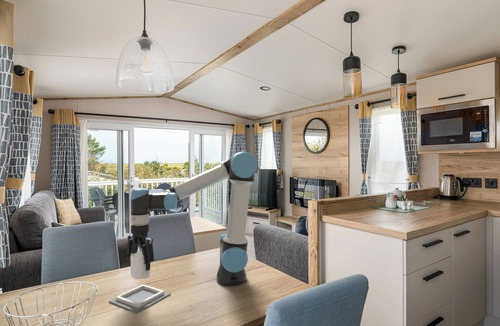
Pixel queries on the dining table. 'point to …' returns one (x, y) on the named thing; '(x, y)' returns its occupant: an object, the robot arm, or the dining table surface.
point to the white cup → (137, 265)
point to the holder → (139, 298)
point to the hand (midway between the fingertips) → (140, 275)
